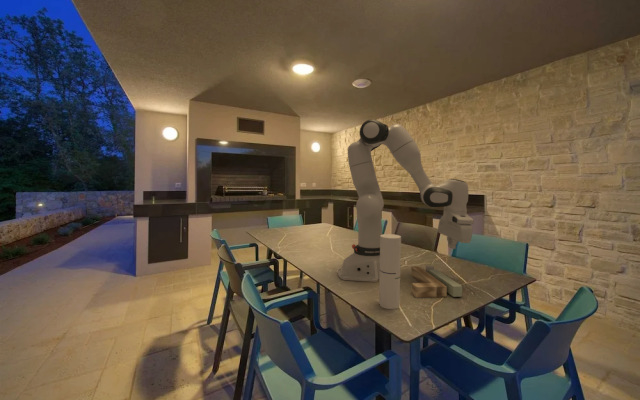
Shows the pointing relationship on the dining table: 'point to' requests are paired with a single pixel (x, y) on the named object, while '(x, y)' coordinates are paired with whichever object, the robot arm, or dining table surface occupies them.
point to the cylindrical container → (390, 271)
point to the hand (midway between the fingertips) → (451, 247)
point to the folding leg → (445, 281)
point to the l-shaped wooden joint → (426, 284)
